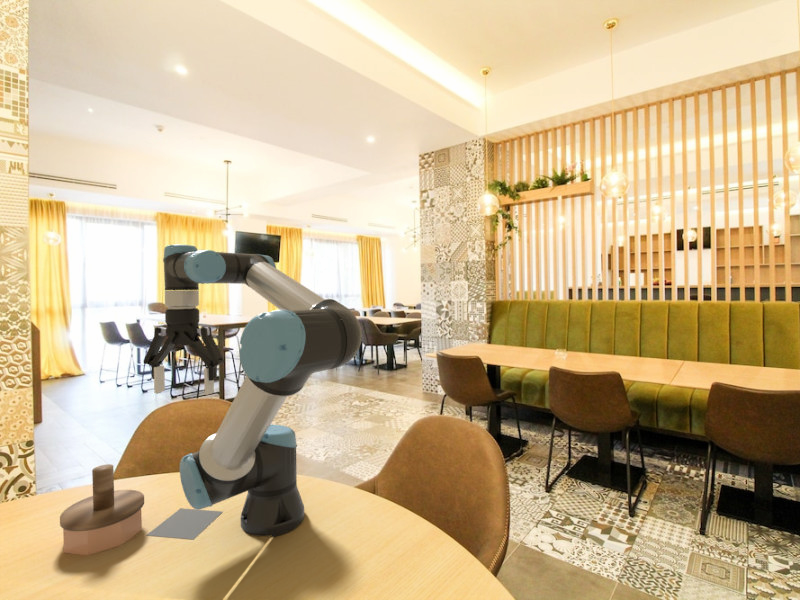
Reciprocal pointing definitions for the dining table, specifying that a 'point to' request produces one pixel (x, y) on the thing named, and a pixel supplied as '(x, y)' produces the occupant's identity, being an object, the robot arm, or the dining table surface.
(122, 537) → the bowl
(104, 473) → the lid
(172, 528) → the mat
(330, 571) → the dining table surface
